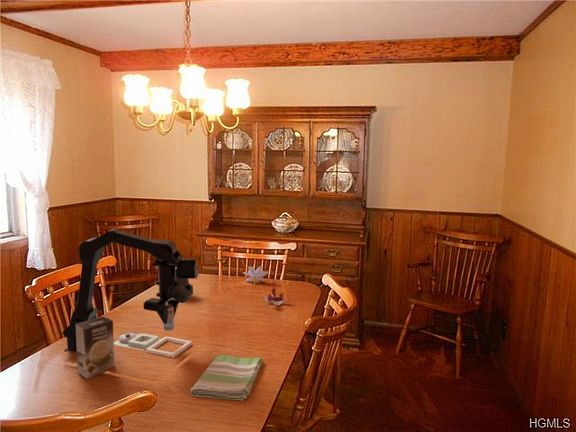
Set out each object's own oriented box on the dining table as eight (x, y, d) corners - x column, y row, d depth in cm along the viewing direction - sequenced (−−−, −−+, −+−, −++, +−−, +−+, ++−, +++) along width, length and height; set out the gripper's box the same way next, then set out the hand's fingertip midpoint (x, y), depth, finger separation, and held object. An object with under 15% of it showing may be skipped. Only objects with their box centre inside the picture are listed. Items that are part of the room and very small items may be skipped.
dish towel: (188, 397, 122) (187, 385, 122) (214, 359, 145) (214, 349, 144) (246, 403, 119) (246, 391, 119) (264, 364, 142) (264, 354, 141)
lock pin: (170, 331, 146) (169, 308, 145) (161, 329, 147) (160, 307, 146) (176, 327, 149) (175, 305, 148) (167, 325, 150) (167, 304, 149)
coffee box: (87, 379, 130) (84, 329, 127) (77, 372, 134) (74, 323, 131) (115, 368, 137) (113, 320, 134) (105, 362, 141) (103, 315, 138)
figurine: (284, 310, 189) (285, 295, 188) (259, 308, 191) (259, 294, 190) (289, 299, 204) (290, 285, 203) (265, 297, 206) (265, 284, 205)
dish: (173, 360, 142) (173, 354, 142) (146, 354, 146) (146, 349, 146) (191, 346, 152) (191, 341, 152) (166, 341, 156) (165, 336, 156)
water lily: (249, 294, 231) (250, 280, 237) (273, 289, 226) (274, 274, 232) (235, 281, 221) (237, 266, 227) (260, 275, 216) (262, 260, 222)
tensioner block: (143, 353, 147) (143, 345, 147) (111, 346, 152) (111, 338, 151) (161, 341, 156) (161, 333, 156) (130, 335, 161) (130, 328, 161)
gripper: (170, 288, 134) (171, 335, 136) (202, 273, 151) (203, 315, 154) (141, 284, 138) (143, 330, 140) (175, 270, 155) (177, 311, 157)
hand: (168, 321), depth 148 cm, fingers closed on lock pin, 3 cm apart
